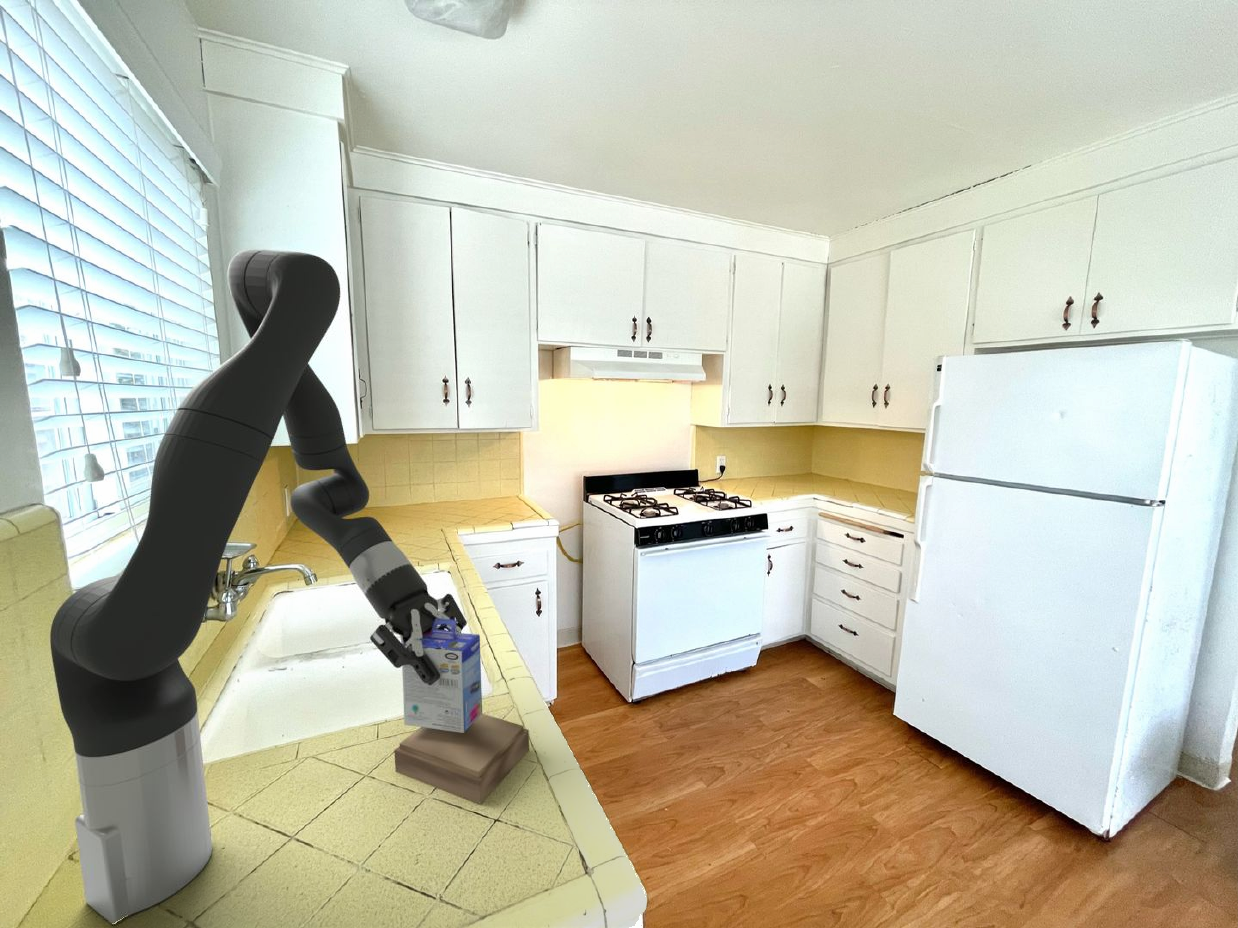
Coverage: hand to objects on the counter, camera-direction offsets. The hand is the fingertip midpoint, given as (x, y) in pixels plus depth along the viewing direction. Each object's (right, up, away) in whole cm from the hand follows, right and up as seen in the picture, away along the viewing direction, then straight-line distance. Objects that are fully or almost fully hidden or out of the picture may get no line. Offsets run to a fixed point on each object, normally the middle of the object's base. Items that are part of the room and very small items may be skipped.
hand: (452, 669), depth 69 cm
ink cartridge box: (-1, -8, +1) cm, 8 cm away
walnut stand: (+2, -14, +1) cm, 14 cm away
